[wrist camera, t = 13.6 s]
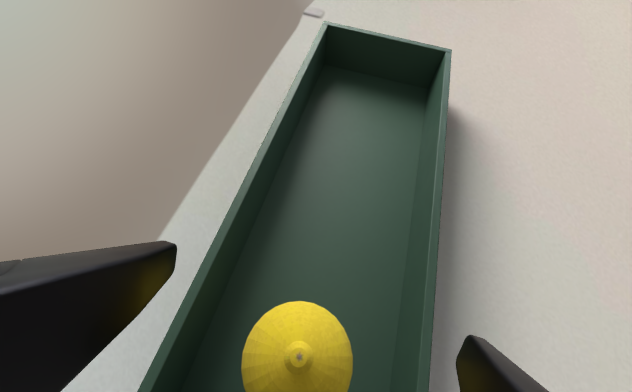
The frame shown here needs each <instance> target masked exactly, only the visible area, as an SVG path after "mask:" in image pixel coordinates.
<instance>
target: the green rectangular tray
mask: <svg viewBox="0 0 632 392" xmlns="http://www.w3.org/2000/svg"><path fill="white" fill-rule="evenodd" d="M451 53H452V50H451V49H447V48H442V47H438V46H433V45H429V44H425V43H420V42H416V41H411V40H407V39H402V38H398V37H394V36H389V35H385V34H380V33H376V32H372V31H367V30H363V29H358V28H354V27H349V26H345V25H341V24H336V23H332V22H327V21H324V22H323V24H322V26H321V28H320V30H319V32H318V34H317V36H316V38H315V40H314V42H313V44H312V46H311V48H310V50H309V52H308V54H307V56H306V58H305V60H304V62H303V64H302V66H301V68H300V70H299V72H298V74H297V76H296V78H295V80H294V82H293V84H292V86H291V88H290V90H289V92H288V94H287V96H286V98H285V100H284V102H283V103H282V105H281V107H280V109H279V111H278V113H277V115H276V117H275V119H274V121H273V123H272V125H271V127H270V129H269V131H268V133H267V135H266V137H265V139H264V141H263V143H262V145H261V147H260V149H259V151H258V153H257V155H256V157H255V159H254V161H253V163H252V165H251V167H250V169H249V171H248V173H247V175H246V177H245V179H244V181H243V183H242V185H241V187H240V189H239V191H238V193H237V195H236V197H235V199H234V201H233V203H232V205H231V207H230V209H229V211H228V213H227V215H226V217H225V219H224V221H223V223H222V225H221V227H220V229H219V231H218V233H217V235H216V237H215V239H214V241H213V243H212V245H211V247H210V248H209V250H208V252H207V254H206V256H205V258H204V260H203V262H202V264H201V266H200V268H199V270H198V272H197V274H196V276H195V278H194V280H193V282H192V284H191V286H190V288H189V290H188V292H187V294H186V296H185V298H184V300H183V302H182V304H181V306H180V308H179V310H178V312H177V314H176V316H175V318H174V320H173V322H172V324H171V326H170V328H169V330H168V332H167V334H166V336H165V338H164V340H163V342H162V344H161V346H160V348H159V350H158V352H157V354H156V356H155V358H154V360H153V362H152V364H151V366H150V368H149V370H148V372H147V374H146V376H145V378H144V380H143V382H142V384H141V386H140V388H139V390H138V391H137V392H246V391H245V388H244V385H243V379H242V372H241V365H242V353H243V350H244V347H245V343H246V340H247V338H248V336H249V334H250V332H251V330H252V329H253V327H254V325H255V324H256V323H257V322H258V321H259V320H260V318H261V317H262V316H263V315H264V314H265V313H267V312H268V311H270V310H271V309H273V308H274V307H276V306H279V305H282V304H284V303H287V302H295V301H304V302H310V303H314V304H316V305H319V306H321V307H323V308H325V309H326V310H328V311H329V312H330V313H331V314H332V315H334V316H335V317H336V318H337V320H338V321H339V322H340V324H341V325H342V326H343V328H344V330H345V332H346V334H347V336H348V339H349V341H350V345H351V350H352V355H353V372H352V377H351V381H350V385H349V389H348V391H347V392H428V390H429V376H430V361H431V346H432V332H433V317H434V302H435V288H436V273H437V259H438V244H439V229H440V215H441V200H442V185H443V171H444V156H445V141H446V127H447V112H448V97H449V83H450V68H451Z"/></svg>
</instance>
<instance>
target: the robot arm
mask: <svg viewBox="0 0 632 392" xmlns="http://www.w3.org/2000/svg"><path fill="white" fill-rule="evenodd" d="M176 254H177V246H176V245H175V244H173V243H170V242H167V241H157V242H149V243H142V244H134V245H126V246H119V247H112V248H104V249H96V250H89V251H81V252H73V253H66V254H58V255H50V256H43V257H36V258H28V259H23V260H22V261H21V260H12V261H4V262H0V392H60V391H61V390H63V389H64V388H65V387H66V386H67V385H68V384H69V383H70V382H71V381H72V380H73V379H74V378H75V377H76V376H77V375H78V374H79V373H80V372H81V371H82V370H83V369H84V368H85V367H86V366H87V365H88V364H89V363H90V362H91V361H92V360H93V359H94V358H95V357H96V356H97V355H98V354H99V353H100V352H101V351H102V350H103V349H104V348H105V347H106V346H107V345H108V344H109V343H110V342H111V341H112V340H113V339H114V338H115V337H116V336H117V335H118V334H119V333H120V332H121V331H122V330H124V329H125V328H126V327H127V326H128V325H129V324H130V323H131V322H132V321H133V320H134V319H135V318H136V317H137V315H138V314H139V313H140V312H141V311H142V310H143V309H144V308H145V307H146V305H147V304H148V303H149V302H150V301H151V299H152V298H153V297H154V296H155V295H156V293H157V292H158V291H159V290H160V289H161V287H162V286H163V285H164V284H165V283H166V281H167V280H168V279H169V278H170V277H171V275H172V274H173V271H174V268H175V261H176ZM456 369H457V375H458V381H459V387H460V392H549V391H547V390H546V389H545V388H544V387H543V386H541V385H540V384H539V383H538V382H536V381H535V380H534V379H533V378H532V377H530V376H529V375H528V374H527V373H525V372H524V371H523V370H522V369H520V368H519V367H518V366H517V365H516V364H514V363H513V362H512V361H511V360H509V359H508V358H507V357H506V356H504V355H503V354H502V353H501V352H500V351H498V350H497V349H496V348H495V347H493V346H492V345H491V344H490V343H489V342H487V341H486V340H485V339H483V338H480V337H476V336H473V335H469V336H467V337H466V338H465V340H464V343H463V345H462V347H461V349H460V351H459V354H458V356H457V359H456Z"/></svg>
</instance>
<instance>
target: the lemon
mask: <svg viewBox="0 0 632 392" xmlns="http://www.w3.org/2000/svg"><path fill="white" fill-rule="evenodd" d="M241 372H242V379H243V385H244V388H245V391H246V392H347V391H348V389H349V385H350V381H351V377H352V372H353V355H352V350H351V345H350V341H349V339H348V336H347V334H346V332H345V330H344V328H343V326H342V325H341V324H340V322H339V321H338V320H337V318H336V317H335V316H334V315H332V314H331V313H330V312H329V311H328V310H326V309H325V308H323V307H321V306H319V305H316V304H314V303H310V302H304V301H295V302H287V303H284V304H282V305H279V306H276V307H274V308H273V309H271V310H270V311H268V312H267V313H265V314H264V315H263V316H262V317H261V318H260V320H259V321H258V322H257V323H256V324H255V325H254V327H253V329H252V330H251V332H250V334H249V336H248V338H247V340H246V343H245V347H244V350H243V353H242V365H241Z"/></svg>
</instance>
